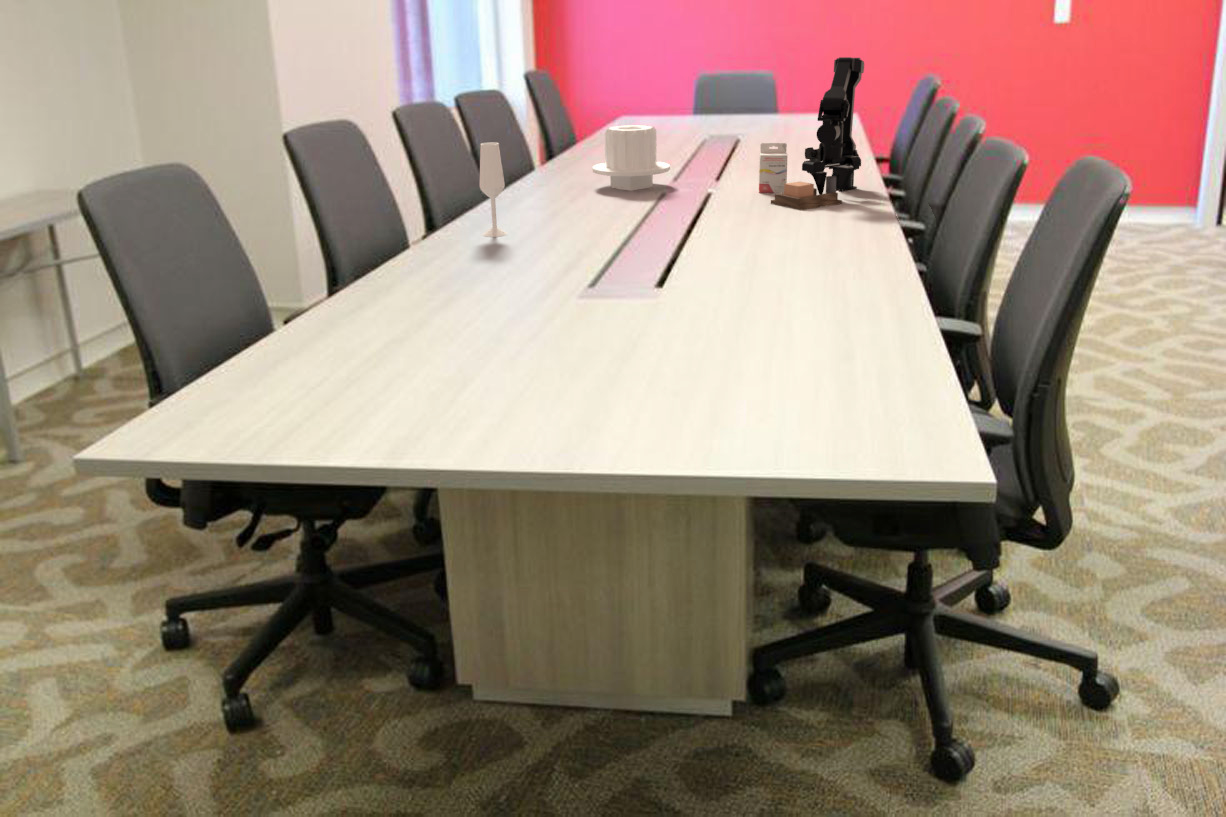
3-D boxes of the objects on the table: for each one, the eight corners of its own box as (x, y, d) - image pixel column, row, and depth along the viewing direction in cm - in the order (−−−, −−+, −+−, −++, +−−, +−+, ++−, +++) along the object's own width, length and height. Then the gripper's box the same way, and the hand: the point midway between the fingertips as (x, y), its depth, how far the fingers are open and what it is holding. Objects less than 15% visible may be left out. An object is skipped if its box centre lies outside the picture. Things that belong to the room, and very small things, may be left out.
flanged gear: (628, 197, 364) (627, 134, 357) (577, 188, 382) (575, 128, 375) (686, 186, 379) (686, 126, 373) (634, 178, 397) (633, 121, 390)
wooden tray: (809, 197, 355) (809, 187, 354) (841, 203, 344) (842, 193, 343) (770, 203, 348) (770, 193, 347) (802, 210, 336) (802, 199, 335)
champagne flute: (479, 233, 318) (473, 143, 309) (503, 230, 320) (497, 141, 312) (487, 237, 312) (481, 146, 304) (511, 235, 314) (505, 144, 306)
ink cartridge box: (758, 193, 364) (759, 145, 359) (758, 190, 369) (759, 142, 364) (786, 193, 363) (787, 144, 358) (786, 190, 368) (787, 142, 363)
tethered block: (827, 196, 354) (828, 175, 351) (841, 199, 349) (842, 177, 347) (783, 203, 345) (784, 181, 343) (797, 206, 340) (798, 183, 338)
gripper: (837, 134, 356) (835, 186, 361) (790, 140, 346) (788, 193, 352) (863, 137, 347) (861, 190, 352) (815, 143, 337) (813, 198, 343)
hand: (830, 192), depth 350 cm, fingers open, 8 cm apart
